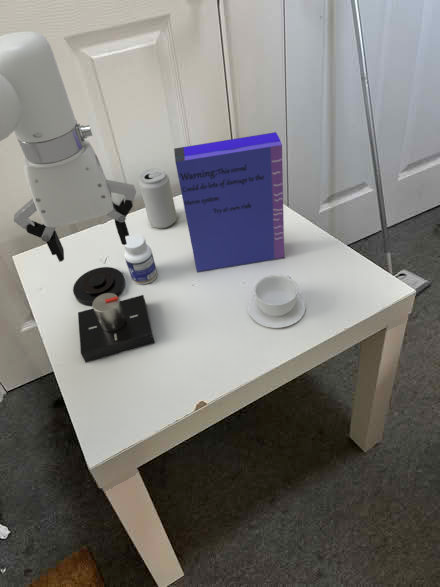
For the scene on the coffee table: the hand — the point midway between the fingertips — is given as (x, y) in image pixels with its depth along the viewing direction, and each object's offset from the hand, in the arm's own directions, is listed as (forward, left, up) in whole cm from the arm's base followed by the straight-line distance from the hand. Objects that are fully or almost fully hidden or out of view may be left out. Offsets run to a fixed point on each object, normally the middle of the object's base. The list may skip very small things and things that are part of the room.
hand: (92, 247), depth 71 cm
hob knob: (-1, -2, -15) cm, 15 cm away
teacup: (+27, -7, -18) cm, 33 cm away
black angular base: (-1, -2, -17) cm, 17 cm away
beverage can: (+13, +28, -18) cm, 36 cm away
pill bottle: (+6, +11, -18) cm, 22 cm away
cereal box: (+25, +9, -18) cm, 32 cm away
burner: (-3, +11, -17) cm, 21 cm away
